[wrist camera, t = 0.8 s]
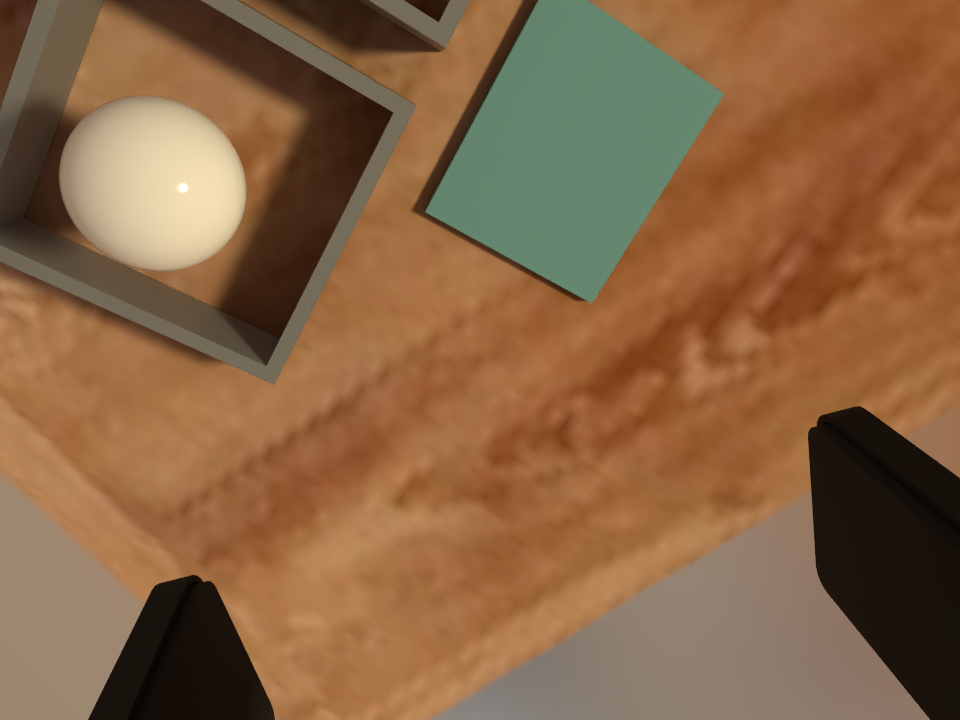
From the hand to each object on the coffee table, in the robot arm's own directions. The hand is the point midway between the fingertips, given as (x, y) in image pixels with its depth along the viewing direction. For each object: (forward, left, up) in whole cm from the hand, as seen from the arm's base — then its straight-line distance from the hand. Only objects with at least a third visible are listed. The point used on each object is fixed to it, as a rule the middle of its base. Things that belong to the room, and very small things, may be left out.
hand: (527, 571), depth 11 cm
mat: (-7, +4, -27) cm, 28 cm away
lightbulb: (+2, -11, -28) cm, 30 cm away
